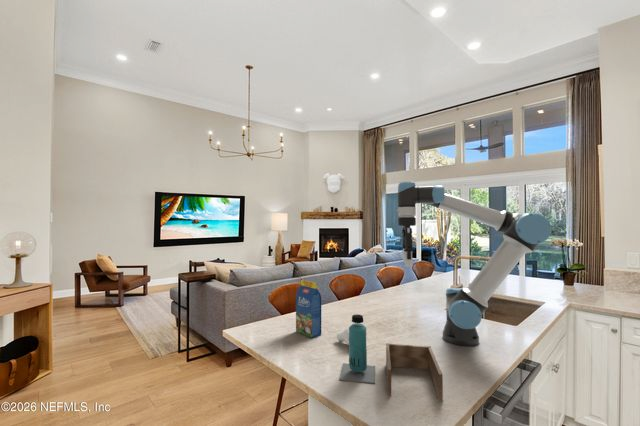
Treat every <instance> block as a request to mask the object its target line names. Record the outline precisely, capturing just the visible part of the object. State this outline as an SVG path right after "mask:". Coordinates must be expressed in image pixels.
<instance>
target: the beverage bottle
mask: <svg viewBox="0 0 640 426" xmlns="http://www.w3.org/2000/svg"><path fill="white" fill-rule="evenodd" d="M351 323H352V324H351V325H350V326H348V327H349V345H348V350H349V352H348V353H349V354H348V361H349V363H348V364H349V367H350V369H351V370H353V371H356V372H362V371H365V370H366V369H367V365H368V355H367V354H368V353H367V352H368V351H367V327H366V326H365V325H364V324H363V323H364V316H363V315H361V314H357V313H356V314H353V315H352V316H351Z"/></svg>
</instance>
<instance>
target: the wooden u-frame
mask: <svg viewBox="0 0 640 426" xmlns="http://www.w3.org/2000/svg"><path fill="white" fill-rule="evenodd" d="M385 362H386V363H385V365H386V366H385V367H386V369H385V370H386V381H387V383H386V384H387V385H386V386H387V397H392V367H393V368H394V367H395V368H403V369H404V368H405V369H416V370H417V369H418V370H426V371H427V370H428V372H429V375H430V379H431V381H432V383H433V386H434V387H433V388H434V390H435V392H436V395H437V399H438V401H439V402H444V394H443V393H444V391H443V387H444V386H443V385H444V384H443V382H444V381H443V376H444V375H443V372H442V369H441V368H440V366H439V362H438V361H437V359H436V355H435V354H434V351H433V348H432V346H428V345H416V344H403V343H402V344H401V343H400V344H399V343H389V342H388V343H387V342H386V344H385Z"/></svg>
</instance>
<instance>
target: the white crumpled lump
mask: <svg viewBox="0 0 640 426" xmlns="http://www.w3.org/2000/svg"><path fill="white" fill-rule="evenodd" d="M349 327H350V326H348V327H346V328H345V329H344V330H342V331H339V332H337V334H336V339H337V341H338V343H343V342H344V343H345V344H346V345H348V346H349Z"/></svg>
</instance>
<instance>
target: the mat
mask: <svg viewBox="0 0 640 426" xmlns="http://www.w3.org/2000/svg"><path fill="white" fill-rule="evenodd" d="M338 381H341V382H352V383H360V384H361V383H362V384H363V383H364V384H371V385H372V384H373V385H375V384H376V365H369V364H367V369H366V370H365V371H362V372H356V371H353V370H351V369H350V367H349V363H342V367H341V370H340V374H339V378H338Z"/></svg>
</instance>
